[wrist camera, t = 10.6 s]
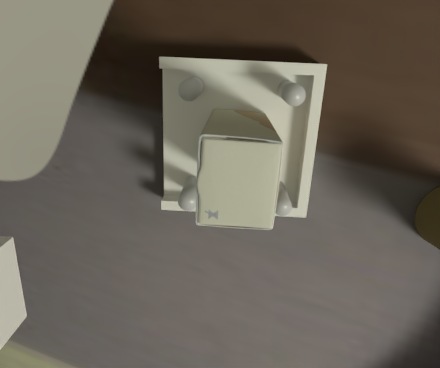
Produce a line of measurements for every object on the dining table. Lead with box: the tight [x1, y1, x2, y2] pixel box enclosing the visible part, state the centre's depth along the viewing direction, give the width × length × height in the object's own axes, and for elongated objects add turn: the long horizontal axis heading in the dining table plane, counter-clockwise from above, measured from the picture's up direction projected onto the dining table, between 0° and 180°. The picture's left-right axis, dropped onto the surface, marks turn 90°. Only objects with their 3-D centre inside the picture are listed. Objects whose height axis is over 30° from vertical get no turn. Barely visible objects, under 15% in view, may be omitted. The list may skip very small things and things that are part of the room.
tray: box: [159, 57, 327, 217], centre depth 27 cm, size 12×12×5 cm
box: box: [195, 109, 284, 230], centre depth 23 cm, size 5×4×11 cm
